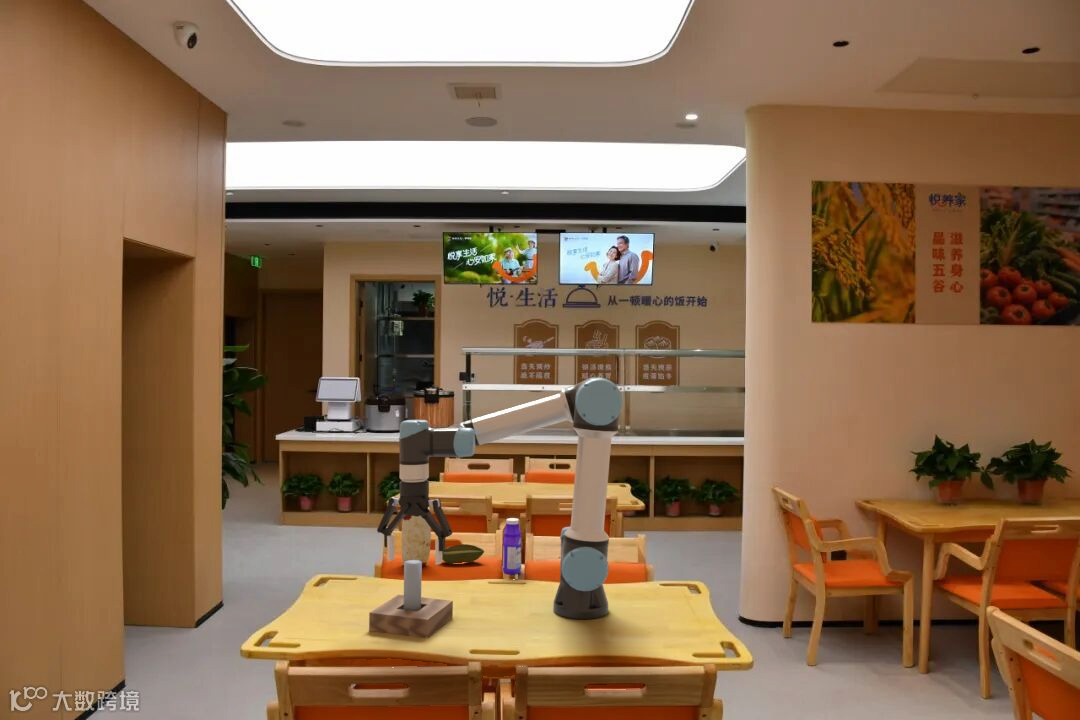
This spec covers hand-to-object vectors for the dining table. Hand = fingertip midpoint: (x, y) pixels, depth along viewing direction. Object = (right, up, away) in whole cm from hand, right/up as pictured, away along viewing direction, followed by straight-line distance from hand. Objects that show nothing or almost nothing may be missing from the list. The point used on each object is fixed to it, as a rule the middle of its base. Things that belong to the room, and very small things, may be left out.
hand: (414, 561), depth 202 cm
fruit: (+6, -17, +61) cm, 64 cm away
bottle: (+23, -17, +50) cm, 58 cm away
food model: (-9, -16, +58) cm, 61 cm away
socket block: (-1, -16, 0) cm, 16 cm away
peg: (-1, -16, 0) cm, 16 cm away
